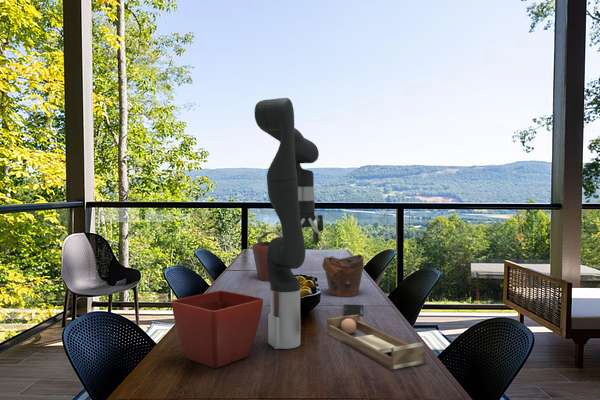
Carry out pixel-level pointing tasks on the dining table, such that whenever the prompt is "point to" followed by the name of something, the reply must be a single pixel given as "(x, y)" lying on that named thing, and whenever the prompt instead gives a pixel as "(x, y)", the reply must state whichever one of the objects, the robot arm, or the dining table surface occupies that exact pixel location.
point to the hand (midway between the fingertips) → (304, 244)
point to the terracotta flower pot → (343, 275)
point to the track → (377, 344)
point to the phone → (353, 310)
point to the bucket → (262, 256)
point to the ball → (348, 326)
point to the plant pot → (217, 326)
